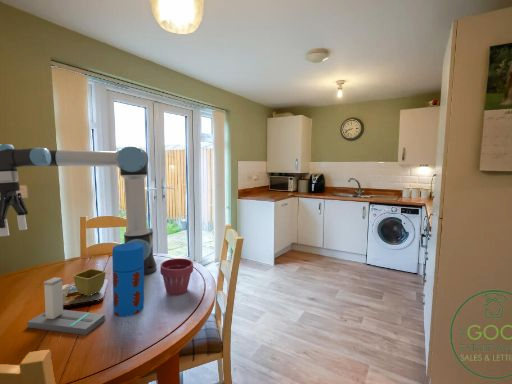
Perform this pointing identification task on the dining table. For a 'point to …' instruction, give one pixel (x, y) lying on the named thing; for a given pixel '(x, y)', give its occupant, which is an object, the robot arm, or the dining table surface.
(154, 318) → the dining table surface
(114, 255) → the thermos
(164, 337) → the dining table surface
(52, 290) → the fader tab
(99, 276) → the flower pot
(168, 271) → the plant pot
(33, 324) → the console
